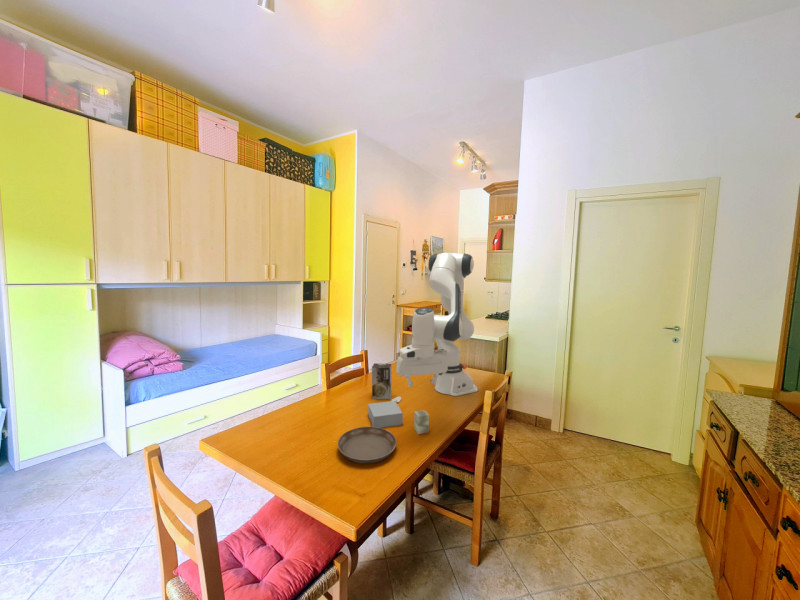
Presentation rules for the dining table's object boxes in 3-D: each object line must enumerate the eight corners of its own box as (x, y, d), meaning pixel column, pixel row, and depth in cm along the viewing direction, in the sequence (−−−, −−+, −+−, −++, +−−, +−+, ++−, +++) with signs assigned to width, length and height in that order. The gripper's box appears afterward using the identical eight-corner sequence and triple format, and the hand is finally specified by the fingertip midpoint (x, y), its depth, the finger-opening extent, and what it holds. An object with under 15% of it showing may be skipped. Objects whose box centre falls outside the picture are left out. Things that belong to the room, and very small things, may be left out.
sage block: (424, 426, 127) (424, 410, 126) (428, 432, 122) (429, 415, 122) (414, 428, 125) (414, 411, 125) (417, 433, 121) (418, 416, 120)
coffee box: (391, 394, 158) (392, 363, 156) (390, 400, 151) (390, 367, 150) (374, 393, 159) (374, 362, 157) (371, 399, 152) (371, 367, 151)
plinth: (394, 411, 139) (394, 400, 139) (402, 424, 128) (402, 413, 127) (368, 414, 136) (368, 403, 136) (373, 428, 125) (373, 416, 124)
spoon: (403, 400, 152) (403, 397, 152) (377, 417, 135) (377, 413, 135) (396, 398, 154) (396, 395, 154) (369, 414, 137) (369, 411, 137)
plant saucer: (402, 438, 119) (402, 429, 118) (387, 473, 99) (387, 463, 98) (351, 431, 123) (350, 423, 123) (327, 463, 103) (327, 453, 103)
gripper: (444, 346, 126) (443, 379, 128) (395, 349, 121) (394, 384, 122) (451, 350, 120) (449, 385, 122) (400, 354, 114) (399, 390, 116)
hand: (421, 384), depth 122 cm, fingers open, 8 cm apart
